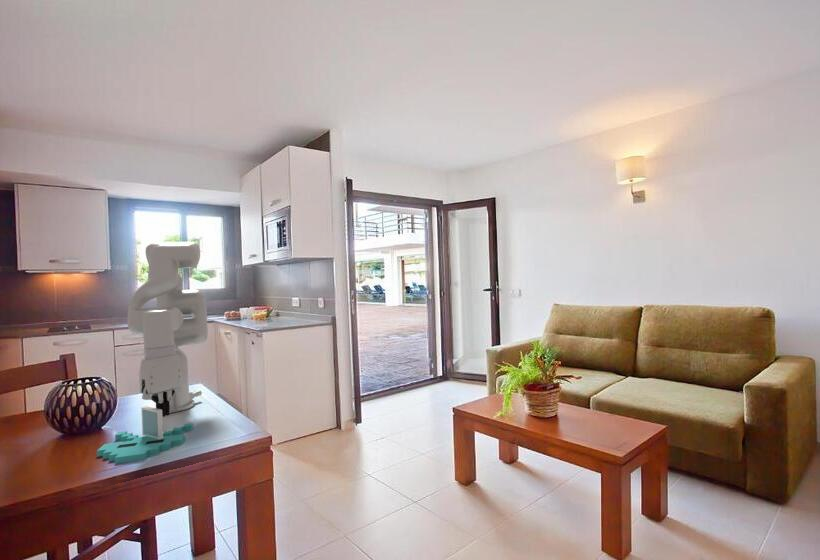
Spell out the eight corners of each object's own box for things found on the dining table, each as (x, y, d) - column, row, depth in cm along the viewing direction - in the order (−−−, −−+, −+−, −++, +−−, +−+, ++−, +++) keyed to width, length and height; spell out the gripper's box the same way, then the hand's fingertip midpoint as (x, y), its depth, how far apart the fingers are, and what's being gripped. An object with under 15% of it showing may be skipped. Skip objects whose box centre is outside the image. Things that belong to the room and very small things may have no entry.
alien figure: (118, 439, 122) (84, 470, 103) (118, 432, 122) (84, 461, 103) (193, 430, 127) (173, 458, 108) (192, 423, 127) (173, 449, 108)
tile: (146, 433, 120) (145, 406, 120) (163, 437, 116) (162, 409, 116) (142, 435, 119) (141, 407, 119) (159, 439, 115) (157, 410, 115)
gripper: (175, 347, 128) (179, 406, 128) (124, 357, 114) (128, 422, 115) (191, 348, 125) (195, 408, 125) (141, 358, 111) (145, 426, 111)
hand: (163, 415), depth 120 cm, fingers closed
